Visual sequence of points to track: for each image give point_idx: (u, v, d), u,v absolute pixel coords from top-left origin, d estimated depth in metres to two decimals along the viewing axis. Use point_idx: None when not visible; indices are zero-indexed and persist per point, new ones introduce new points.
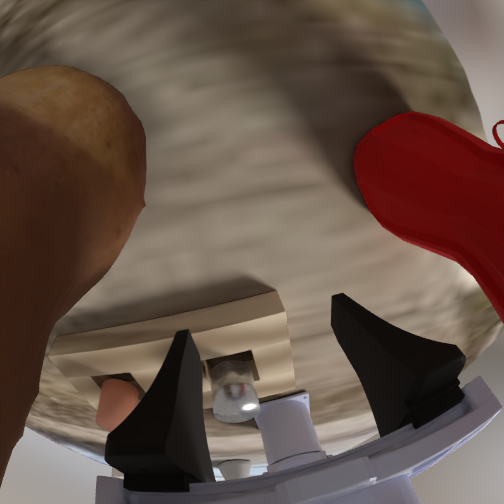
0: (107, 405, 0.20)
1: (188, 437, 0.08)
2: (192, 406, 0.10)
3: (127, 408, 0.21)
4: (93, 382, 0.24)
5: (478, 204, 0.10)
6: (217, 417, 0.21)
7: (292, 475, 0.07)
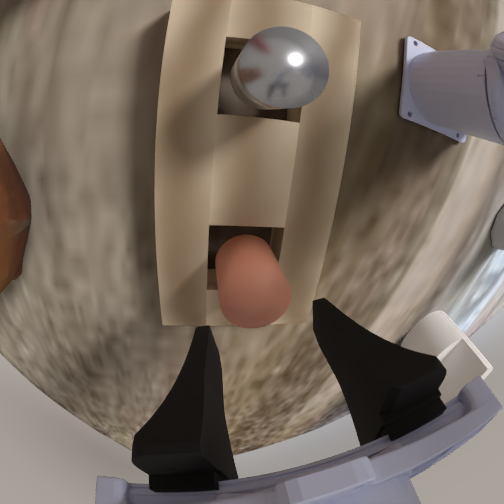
0: (218, 286, 0.16)
1: (215, 434, 0.08)
2: (216, 402, 0.10)
3: (239, 259, 0.16)
4: None
5: None
6: (289, 104, 0.11)
7: (292, 475, 0.07)
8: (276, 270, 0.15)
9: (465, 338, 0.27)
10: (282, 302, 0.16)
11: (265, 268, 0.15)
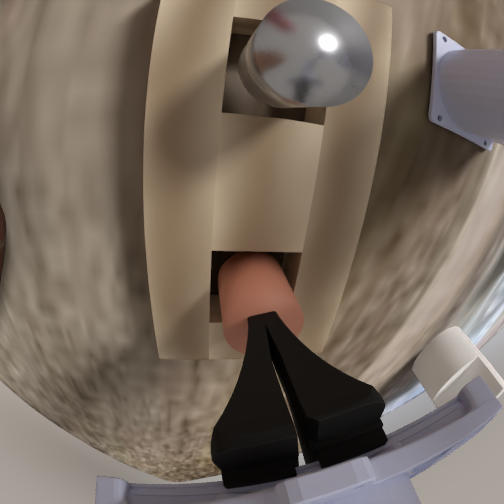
0: (222, 310, 0.14)
1: None
2: None
3: (246, 281, 0.14)
4: None
5: None
6: (324, 101, 0.08)
7: (292, 475, 0.07)
8: (288, 294, 0.13)
9: (481, 356, 0.23)
10: (294, 328, 0.14)
11: (275, 292, 0.13)
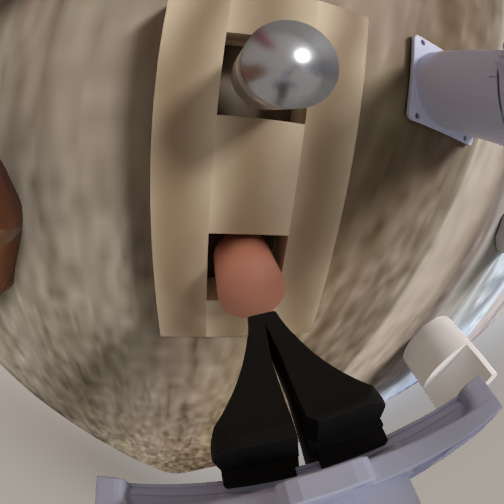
0: (216, 278, 0.17)
1: None
2: None
3: (236, 252, 0.17)
4: None
5: None
6: (297, 104, 0.10)
7: (292, 475, 0.07)
8: (271, 262, 0.16)
9: (469, 344, 0.26)
10: (277, 292, 0.17)
11: (260, 260, 0.16)
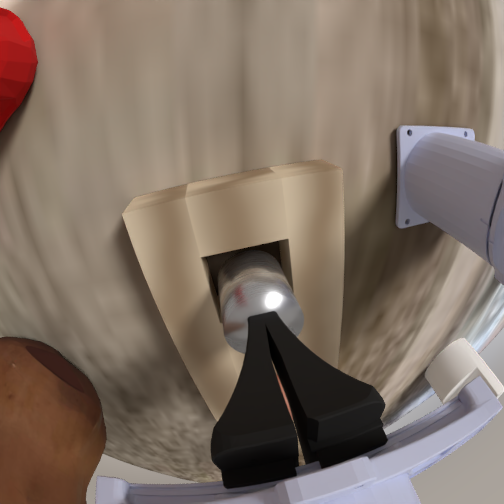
0: None
1: None
2: None
3: None
4: None
5: None
6: None
7: (292, 475, 0.07)
8: None
9: (480, 365, 0.27)
10: None
11: None
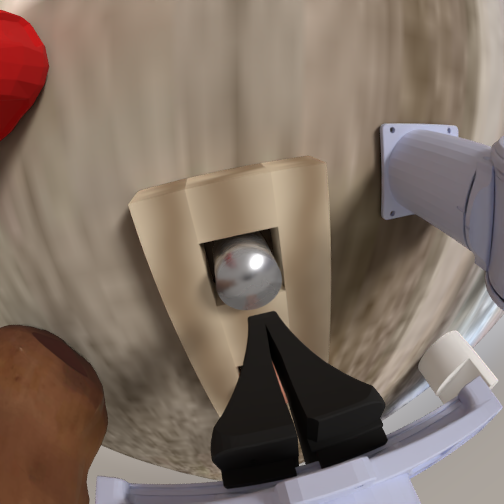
0: None
1: None
2: None
3: None
4: None
5: None
6: (259, 305, 0.18)
7: (292, 475, 0.07)
8: None
9: (472, 357, 0.28)
10: None
11: None
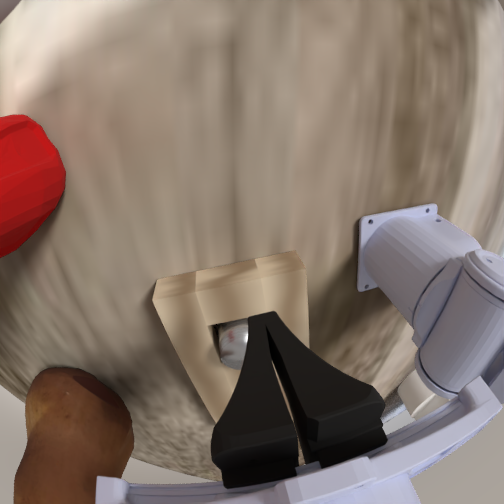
0: None
1: None
2: None
3: None
4: None
5: None
6: None
7: (291, 475, 0.07)
8: None
9: None
10: None
11: None
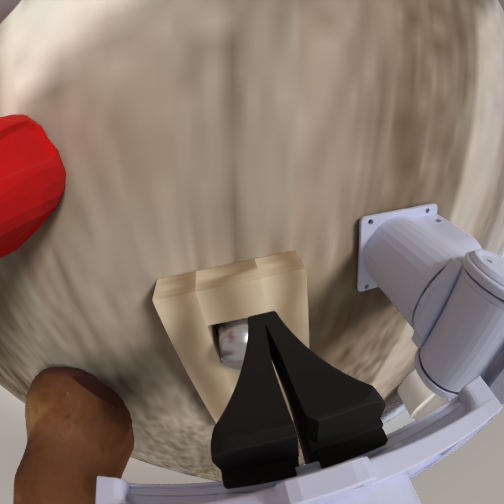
0: None
1: None
2: None
3: None
4: None
5: None
6: None
7: (291, 475, 0.07)
8: None
9: None
10: None
11: None
